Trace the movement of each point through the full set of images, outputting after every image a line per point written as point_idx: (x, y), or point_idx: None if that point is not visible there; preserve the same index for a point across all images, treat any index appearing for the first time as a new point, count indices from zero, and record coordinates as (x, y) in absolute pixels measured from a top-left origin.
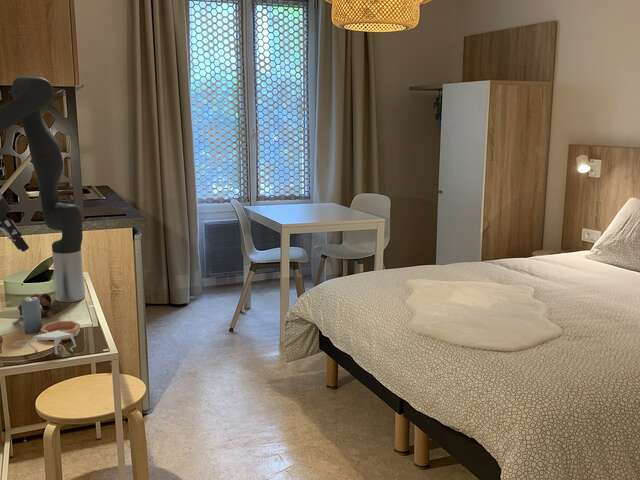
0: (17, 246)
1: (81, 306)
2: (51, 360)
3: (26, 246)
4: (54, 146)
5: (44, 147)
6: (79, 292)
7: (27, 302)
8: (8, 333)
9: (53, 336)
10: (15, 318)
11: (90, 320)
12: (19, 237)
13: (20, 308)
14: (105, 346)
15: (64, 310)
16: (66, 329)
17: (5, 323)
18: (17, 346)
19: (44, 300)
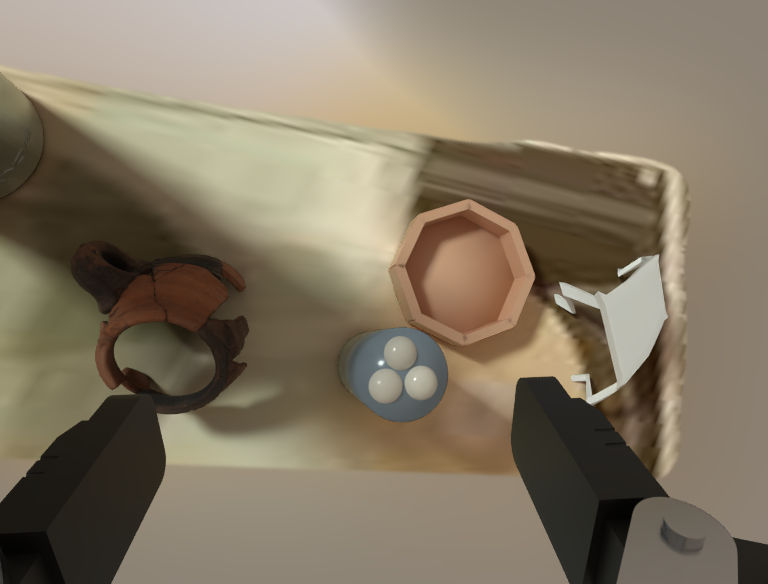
0: (145, 496)
1: (133, 125)
2: (665, 343)
3: (592, 411)
4: None
5: None
6: (11, 85)
7: (443, 392)
8: (348, 458)
9: (656, 321)
10: None
11: (348, 143)
12: (756, 558)
13: (202, 404)
14: (622, 170)
15: (154, 204)
16: (433, 249)
17: (208, 465)
18: (504, 434)
19: (199, 284)
